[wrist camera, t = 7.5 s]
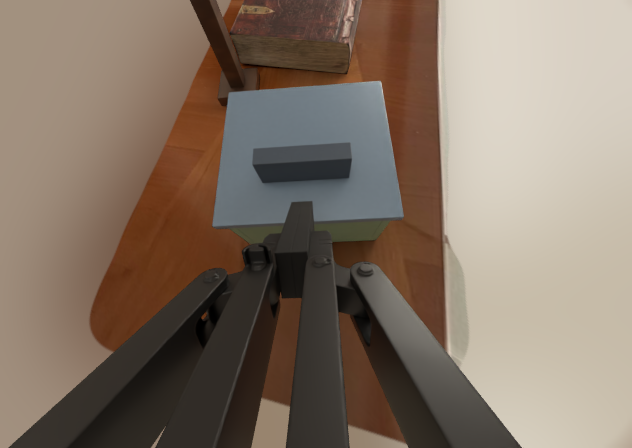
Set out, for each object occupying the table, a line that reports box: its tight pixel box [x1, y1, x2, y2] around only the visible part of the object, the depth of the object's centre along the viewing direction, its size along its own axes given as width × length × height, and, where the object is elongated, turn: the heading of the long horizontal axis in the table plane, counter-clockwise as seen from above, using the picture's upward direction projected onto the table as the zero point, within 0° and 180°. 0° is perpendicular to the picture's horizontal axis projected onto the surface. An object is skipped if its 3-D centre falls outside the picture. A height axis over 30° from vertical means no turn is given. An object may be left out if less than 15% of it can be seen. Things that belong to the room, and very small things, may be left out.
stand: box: [190, 0, 260, 106], centre depth 28 cm, size 6×6×20 cm
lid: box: [212, 81, 404, 229], centre depth 21 cm, size 17×16×4 cm
